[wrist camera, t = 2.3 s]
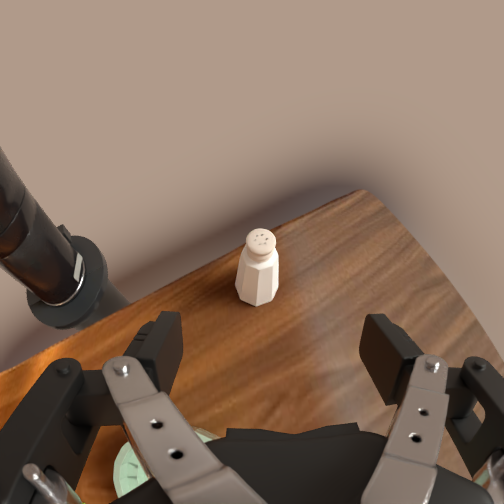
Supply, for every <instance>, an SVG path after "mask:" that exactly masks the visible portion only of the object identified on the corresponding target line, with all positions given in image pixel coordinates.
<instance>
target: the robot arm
mask: <svg viewBox="0 0 504 504" xmlns="http://www.w3.org/2000/svg"><path fill="white" fill-rule="evenodd" d="M70 243H72V240H71V235H70V233H69V232H68V230H67V229H66V228H65V226H64V225H60V226H58V227H56V226H55V225H54V224H53V222H52V221H51V220H50V219H49V217H48V216H47V215H46V214H45V212H44V211H43V210H42V208H41V207H40V206H39V204H38V203H37V201H36V200H35V199H34V198H33V196H32V195H31V193H30V192H29V190H28V189H27V188H26V186H25V185H24V183H23V182H22V181H21V179H20V177H19V176H18V175H17V173H16V172H15V171H14V169H13V167H12V165H11V164H10V162H9V160H8V159H7V157H6V155H5V154H4V152H3V150H2V149H1V147H0V268H2V269H3V270H4V271H5V272H6V273H8V274H9V275H10V276H11V277H13V278H14V279H15V280H16V281H18V282H19V283H20V284H21V285H23V286H24V287H25V288H27V289H28V290H29V291H31V292H32V293H33V294H35V295H36V296H37V297H39V298H40V299H41V300H42V301H43V302H44V303H46V304H47V305H49V306H51V307H63V306H65V305H67V304H69V303H71V302H72V301H73V300H74V299H75V298H76V297H77V296H78V295H79V293H80V292H81V290H82V288H83V286H84V284H85V280H86V274H87V270H86V264H85V261H84V259H83V258H82V256H81V255H80V254H79V253H78V252H77V251H75V249H74V248H73V247H72V246H71V245H70ZM359 354H360V358H361V360H362V362H363V363H364V365H365V367H366V369H367V371H368V373H369V374H370V376H371V378H372V380H373V382H374V384H375V386H376V388H377V389H378V391H379V393H380V395H381V397H382V399H383V401H384V403H385V405H386V406H387V405H393V404H397V405H398V407H397V409H396V412H395V414H394V417H393V419H392V421H391V424H390V426H389V429H388V431H387V433H386V435H385V436H382V435H379V434H376V433H372V432H366V431H360V430H359V427H358V425H357V422H356V423H348V424H340V425H331V426H325V427H321V428H318V429H314V430H311V431H307V432H303V433H300V434H287V433H281V432H274V431H268V430H263V429H235V428H227V431H226V437H224V438H218V439H214V440H210V441H207V442H205V443H204V442H203V441H202V440H201V438H200V437H199V436H198V435H197V433H196V432H195V431H194V430H193V428H192V427H191V426H190V425H189V423H188V422H187V421H186V419H185V418H184V417H183V416H182V414H181V413H180V412H179V410H178V409H177V407H176V406H175V405H174V403H173V402H172V401H171V399H170V398H169V394H170V391H171V388H172V385H173V382H174V379H175V376H176V373H177V371H178V368H179V365H180V362H181V359H182V355H183V338H182V327H181V316H180V313H179V312H169V311H162V312H161V313H160V315H159V316H158V318H157V320H156V321H155V322H153V321H149V322H148V323H146V324H145V325H143V326H142V327H141V328H140V330H139V331H138V333H137V335H136V336H135V337H134V340H132V342H131V343H130V345H129V346H128V348H127V350H126V351H125V353H124V354H123V356H119V357H114V358H112V359H110V360H108V361H107V362H105V364H104V365H103V367H102V370H82V368H81V364H80V363H79V362H78V361H77V360H75V359H72V358H62V359H58V360H55V361H54V362H52V363H51V364H50V365H49V366H48V367H47V368H46V369H45V371H44V372H43V373H42V374H41V376H40V377H39V378H38V380H37V381H36V382H35V384H34V385H33V386H32V387H31V389H30V390H29V391H28V393H27V394H26V395H25V397H24V398H23V400H22V401H21V402H20V404H19V405H18V406H17V408H16V409H15V411H14V412H13V413H12V415H11V416H10V418H9V419H8V421H7V422H6V423H5V425H4V426H3V428H2V429H1V431H0V504H82V502H81V500H80V498H79V496H78V495H77V494H76V493H75V489H76V487H77V484H78V481H79V479H80V476H81V473H82V471H83V468H84V466H85V463H86V460H87V458H88V455H89V453H90V450H91V448H92V445H93V443H94V441H95V438H96V436H97V433H98V431H99V429H100V426H111V425H121V427H122V429H123V431H124V433H125V435H126V437H127V439H128V441H129V443H130V445H131V447H132V449H133V451H134V453H135V455H136V457H137V459H138V461H139V463H140V465H141V467H142V469H143V471H144V472H145V474H146V476H147V478H148V480H147V481H145V482H144V483H142V484H141V485H139V486H138V487H136V488H134V489H133V490H131V491H130V492H128V493H126V494H125V495H123V496H121V497H120V498H118V499H116V500H115V501H113V502H111V503H109V504H504V378H503V377H502V376H501V375H500V374H499V373H498V372H497V370H496V369H495V368H494V367H493V366H492V365H491V364H490V363H489V362H488V361H486V360H485V359H483V358H480V357H468V358H467V359H466V360H465V361H464V364H463V366H462V368H450V367H448V365H447V363H446V362H445V361H444V360H443V359H442V358H440V357H438V356H435V355H431V354H424V353H423V352H422V351H421V349H420V348H419V347H418V346H417V345H416V344H415V342H414V341H412V339H411V338H410V337H409V336H408V334H407V333H406V332H405V331H404V330H403V329H402V328H401V327H399V326H397V325H396V324H394V323H393V324H392V322H391V321H390V320H389V319H388V318H387V317H386V315H385V314H368V315H367V316H366V318H365V322H364V327H363V331H362V336H361V340H360V345H359ZM477 401H479V403H480V404H481V405H482V407H483V408H484V410H485V420H484V422H483V423H481V422H480V420H479V419H478V417H477V416H476V414H475V413H474V411H473V408H474V407H475V405H476V403H477ZM444 426H445V427H446V429H447V431H448V433H449V434H450V436H451V438H452V440H453V442H454V444H455V445H456V447H457V449H458V451H459V453H460V455H461V457H462V459H463V461H464V463H465V465H466V467H467V469H468V471H469V473H470V475H471V477H472V481H470V480H468V479H466V478H464V477H462V476H459V475H457V474H455V473H453V472H451V471H449V470H447V469H445V468H443V467H441V466H439V465H437V464H436V462H437V458H438V454H439V450H440V445H441V441H442V436H443V431H444Z"/></svg>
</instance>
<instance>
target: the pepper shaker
mask: <svg viewBox="0 0 504 504" xmlns="http://www.w3.org/2000/svg"><path fill="white" fill-rule="evenodd" d="M275 245H276V239H275V236H274V235H273V234H272V233H271V232H270V231H268V230H266V229H255V230H253V231H251V232H250V233H249V234H248V235H247V237H246V245H245V247H244V249H243V251H242V253H241V256H240V261H239V266H238V271H237V276H236V282H235V287H236V289H237V292H238V295H239V297H240V300H242V301H245V302H247V303H249V304H251V305H254V306H259V305H262V304H264V303H267V302H270V301H272V299H273V297H274V295H275V293H276V291H277V289H278V253H277V251H276V249H275Z"/></svg>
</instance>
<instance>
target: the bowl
mask: <svg viewBox="0 0 504 504" xmlns="http://www.w3.org/2000/svg"><path fill="white" fill-rule="evenodd" d="M191 427H192V426H191ZM192 428H193V430H194V431H195V432H196V433H197V435H198V436H199V437H200V438H201V440H202V441H203V442H204V443H205V442H207V441H210V440H214V439H218V438H220V437H218V436H217V435H215V434H212V433H210V432H208V431H206V430H204V429H202V428H198V427H192ZM147 480H148V478H147V476H146V474H145V472H144V471H143V469H142V467H141V465H140V463H139V461H138V459H137V457H136V455H135V453H134V451H133V449H132V447H131V445H130V443H129V441H128V442H127V443H126V444H125V445H123V446H122V448H121V450H120V452H119V454H118V456H117V458H116V460H115V462H114V472H113V481H114V485H115V489H116V492H117V496H118V498H120V497H121V496H123V495H125V494H126V493H128V492H130V491H131V490H133V489H134V488H136V487H138V486H139V485H141V484H142V483H144V482H145V481H147Z"/></svg>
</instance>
